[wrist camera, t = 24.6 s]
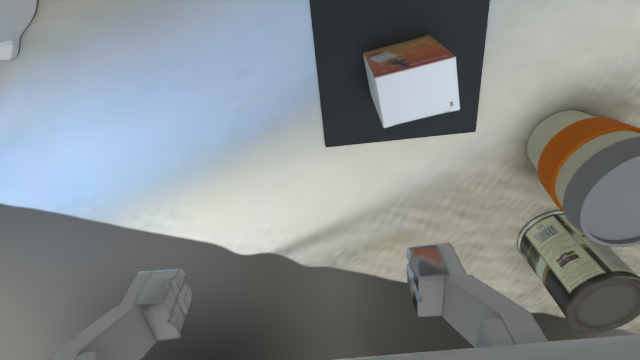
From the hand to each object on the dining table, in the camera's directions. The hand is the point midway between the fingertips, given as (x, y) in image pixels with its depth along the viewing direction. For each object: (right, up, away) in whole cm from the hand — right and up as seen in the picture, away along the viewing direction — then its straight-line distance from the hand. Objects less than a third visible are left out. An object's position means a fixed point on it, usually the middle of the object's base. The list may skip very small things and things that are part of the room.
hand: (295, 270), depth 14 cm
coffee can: (+38, -6, +48) cm, 61 cm away
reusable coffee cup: (+34, +9, +39) cm, 52 cm away
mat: (+11, +18, +33) cm, 39 cm away
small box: (+10, +17, +33) cm, 38 cm away
